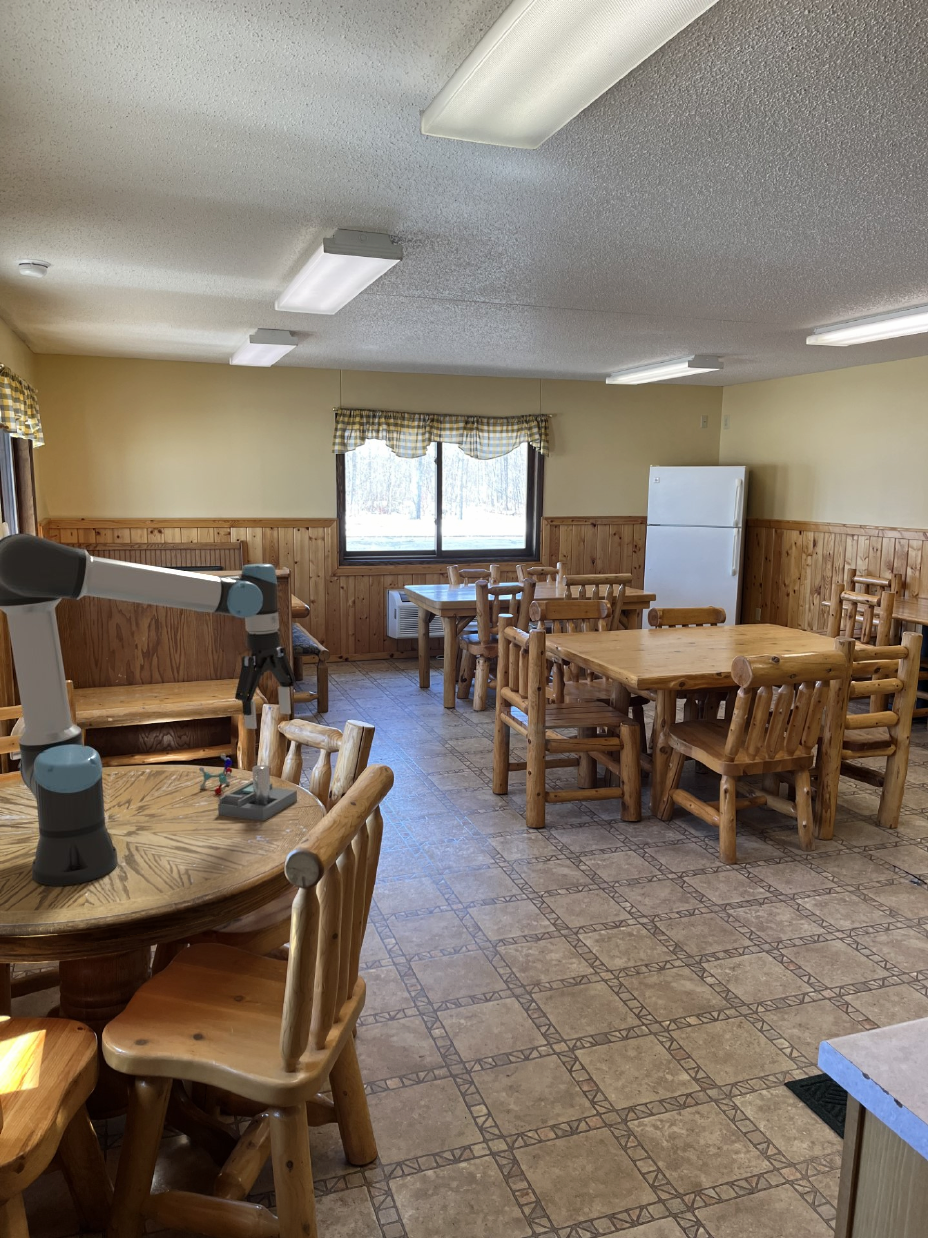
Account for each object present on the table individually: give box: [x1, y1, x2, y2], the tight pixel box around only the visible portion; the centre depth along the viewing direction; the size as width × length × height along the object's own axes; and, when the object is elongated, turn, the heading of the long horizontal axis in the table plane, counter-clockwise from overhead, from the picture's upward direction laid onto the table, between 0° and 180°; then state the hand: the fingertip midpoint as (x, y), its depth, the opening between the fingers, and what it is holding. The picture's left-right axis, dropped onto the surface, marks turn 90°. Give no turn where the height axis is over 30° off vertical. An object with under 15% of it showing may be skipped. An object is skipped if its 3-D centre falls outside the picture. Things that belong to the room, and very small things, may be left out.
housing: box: [217, 780, 298, 822], centre depth 200 cm, size 14×12×4 cm
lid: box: [243, 772, 271, 794], centre depth 205 cm, size 6×4×4 cm, turn 159°
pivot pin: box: [251, 764, 270, 806], centre depth 197 cm, size 4×4×10 cm
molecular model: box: [198, 753, 233, 795], centre depth 213 cm, size 12×10×10 cm
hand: (268, 720), depth 202 cm, fingers open, 13 cm apart
